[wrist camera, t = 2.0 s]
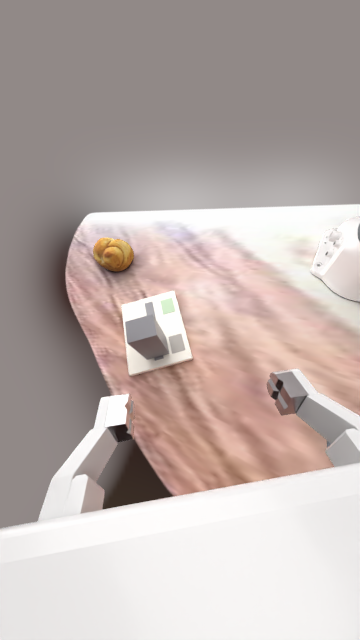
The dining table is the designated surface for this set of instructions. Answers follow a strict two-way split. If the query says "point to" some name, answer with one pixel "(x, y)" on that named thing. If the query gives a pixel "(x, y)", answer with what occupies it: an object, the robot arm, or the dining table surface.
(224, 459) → the dining table surface
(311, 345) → the dining table surface
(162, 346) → the switch tab
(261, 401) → the dining table surface
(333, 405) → the robot arm
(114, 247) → the bread roll
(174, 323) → the switch panel
